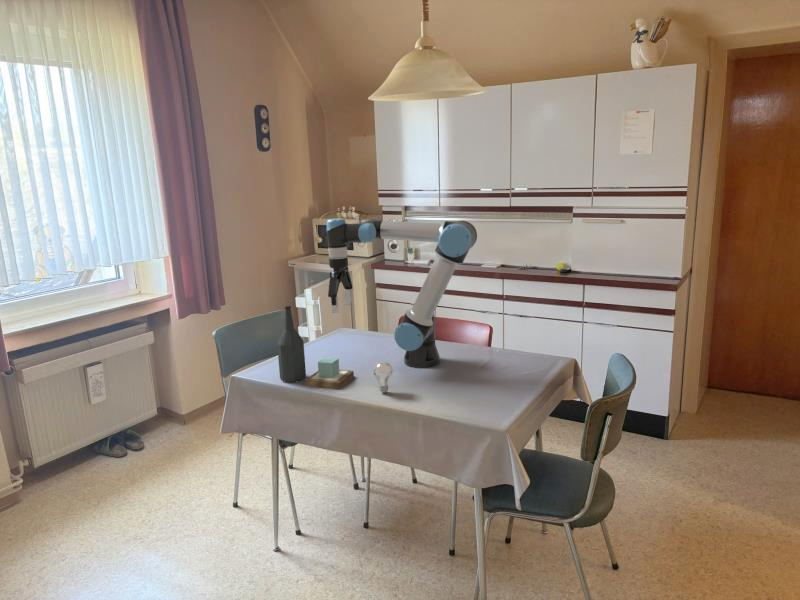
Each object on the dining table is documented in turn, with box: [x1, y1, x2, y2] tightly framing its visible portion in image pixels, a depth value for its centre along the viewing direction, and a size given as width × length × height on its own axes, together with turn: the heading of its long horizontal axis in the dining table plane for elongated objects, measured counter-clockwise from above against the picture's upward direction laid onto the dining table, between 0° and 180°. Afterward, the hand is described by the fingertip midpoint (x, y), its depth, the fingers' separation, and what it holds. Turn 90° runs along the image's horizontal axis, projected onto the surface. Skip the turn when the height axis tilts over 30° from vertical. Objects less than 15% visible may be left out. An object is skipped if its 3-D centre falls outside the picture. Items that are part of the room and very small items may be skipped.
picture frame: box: [305, 369, 355, 390], centre depth 240 cm, size 14×14×3 cm
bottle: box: [276, 304, 307, 383], centre depth 241 cm, size 10×10×30 cm
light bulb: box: [373, 361, 394, 394], centre depth 225 cm, size 7×7×12 cm
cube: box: [317, 357, 340, 378], centre depth 239 cm, size 6×6×6 cm
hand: (341, 308), depth 250 cm, fingers open, 13 cm apart
